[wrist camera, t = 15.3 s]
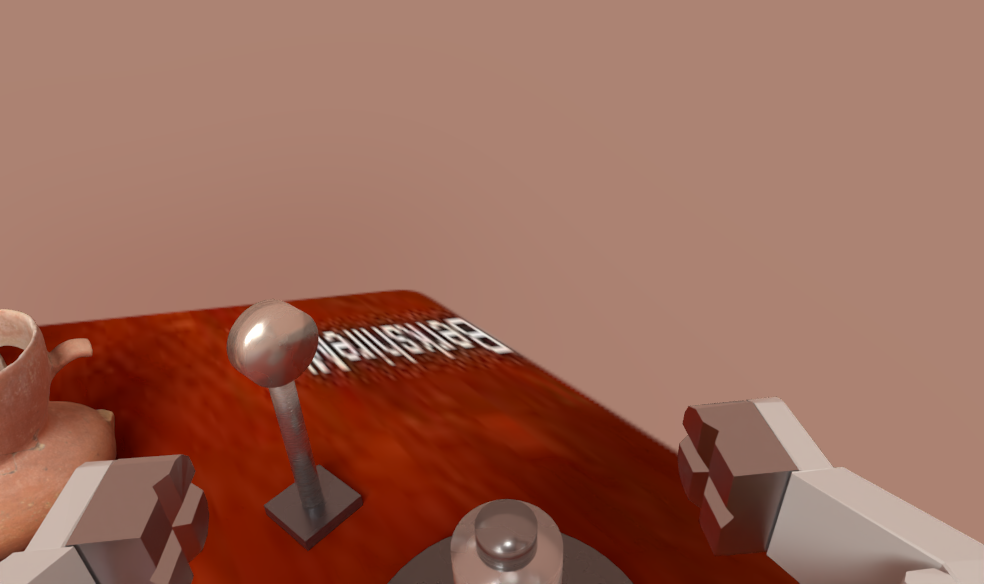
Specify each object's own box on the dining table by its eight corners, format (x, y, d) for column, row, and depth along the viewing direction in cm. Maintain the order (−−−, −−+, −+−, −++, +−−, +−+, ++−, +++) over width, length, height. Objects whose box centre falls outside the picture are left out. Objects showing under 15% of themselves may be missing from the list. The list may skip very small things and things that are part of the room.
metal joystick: (266, 514, 46) (199, 311, 37) (321, 473, 50) (272, 276, 40) (308, 550, 44) (246, 340, 34) (363, 504, 47) (320, 301, 38)
